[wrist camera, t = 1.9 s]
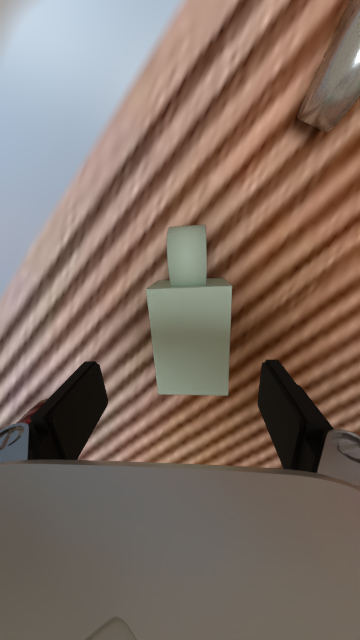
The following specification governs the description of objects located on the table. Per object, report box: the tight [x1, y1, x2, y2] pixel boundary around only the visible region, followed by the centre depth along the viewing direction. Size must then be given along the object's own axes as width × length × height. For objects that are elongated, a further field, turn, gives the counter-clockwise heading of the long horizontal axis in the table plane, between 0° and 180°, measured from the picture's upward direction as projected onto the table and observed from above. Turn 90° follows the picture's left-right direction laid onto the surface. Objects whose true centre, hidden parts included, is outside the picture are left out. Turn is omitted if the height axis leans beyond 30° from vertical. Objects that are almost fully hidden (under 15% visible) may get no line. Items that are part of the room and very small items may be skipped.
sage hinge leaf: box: [146, 225, 232, 396], centre depth 17 cm, size 6×14×5 cm, turn 3°
